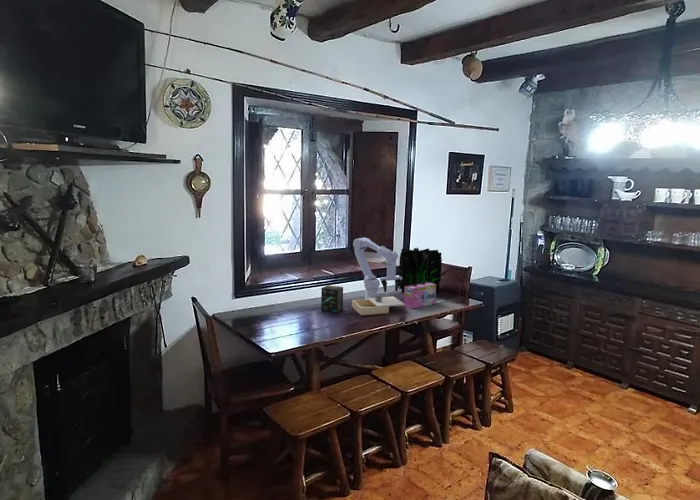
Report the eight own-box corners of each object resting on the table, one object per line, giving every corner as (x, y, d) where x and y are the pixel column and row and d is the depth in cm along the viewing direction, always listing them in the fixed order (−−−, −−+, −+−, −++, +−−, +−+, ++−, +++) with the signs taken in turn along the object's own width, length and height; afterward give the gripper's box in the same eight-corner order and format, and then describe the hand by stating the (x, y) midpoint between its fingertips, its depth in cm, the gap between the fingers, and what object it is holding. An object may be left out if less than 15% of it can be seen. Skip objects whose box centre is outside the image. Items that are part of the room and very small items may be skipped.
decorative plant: (446, 291, 347) (448, 251, 342) (423, 298, 325) (425, 255, 321) (414, 284, 366) (416, 246, 361) (390, 290, 345) (392, 250, 340)
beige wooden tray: (351, 307, 299) (352, 300, 298) (378, 305, 304) (378, 298, 303) (361, 315, 282) (361, 308, 281) (388, 313, 287) (388, 306, 287)
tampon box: (343, 309, 293) (343, 286, 291) (336, 313, 285) (337, 289, 283) (327, 306, 298) (328, 284, 296) (320, 310, 290) (321, 287, 287)
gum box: (428, 300, 319) (429, 281, 317) (437, 303, 313) (438, 283, 311) (403, 306, 304) (404, 285, 302) (411, 309, 298) (412, 288, 296)
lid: (367, 299, 301) (367, 291, 300) (393, 297, 307) (393, 290, 306) (377, 306, 284) (377, 299, 283) (404, 305, 290) (404, 297, 289)
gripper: (383, 272, 291) (382, 293, 293) (404, 271, 296) (403, 292, 298) (378, 270, 298) (378, 290, 300) (399, 269, 302) (399, 289, 304)
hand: (390, 291), depth 299 cm, fingers open, 7 cm apart
